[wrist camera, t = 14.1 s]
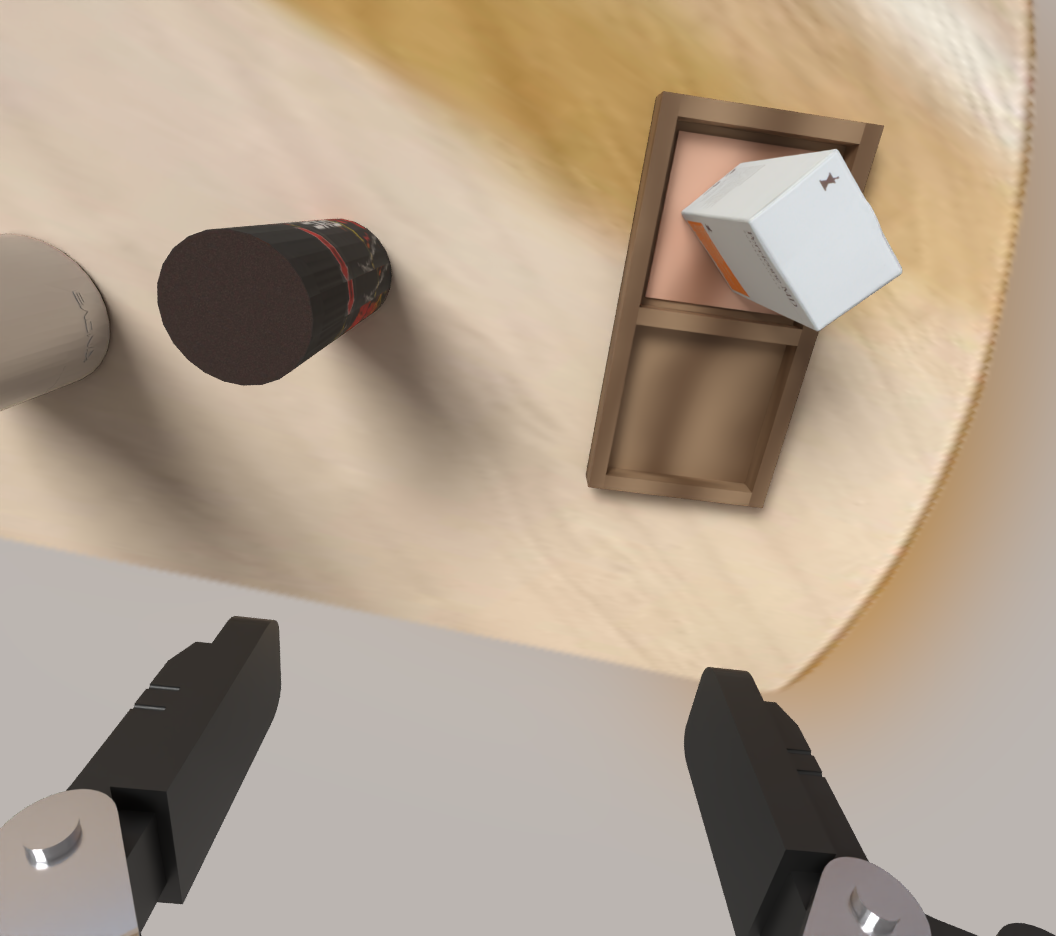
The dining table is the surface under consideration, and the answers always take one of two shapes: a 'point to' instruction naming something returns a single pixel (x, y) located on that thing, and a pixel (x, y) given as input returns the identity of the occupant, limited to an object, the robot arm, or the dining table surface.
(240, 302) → the deodorant
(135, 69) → the dining table surface
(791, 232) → the skincare box
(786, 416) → the two-section desk tray
